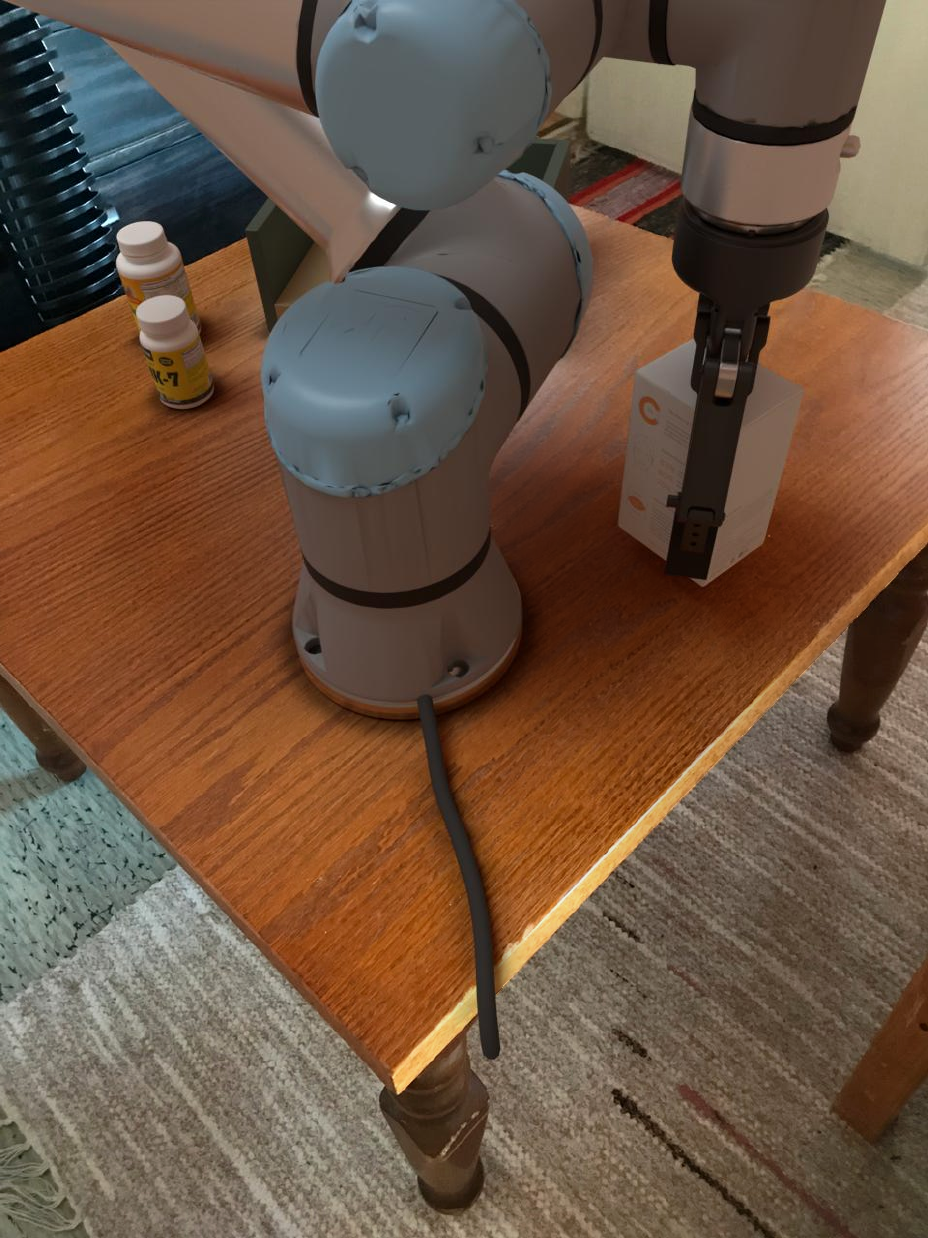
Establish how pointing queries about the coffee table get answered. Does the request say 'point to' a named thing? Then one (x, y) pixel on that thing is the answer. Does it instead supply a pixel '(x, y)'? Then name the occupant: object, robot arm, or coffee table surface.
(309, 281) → the green open tray
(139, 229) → the supplement bottle
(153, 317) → the supplement bottle
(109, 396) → the coffee table surface
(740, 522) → the small box
